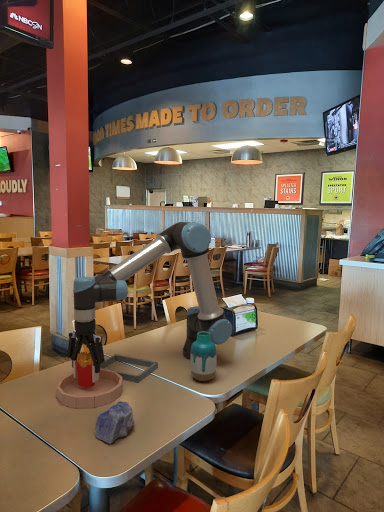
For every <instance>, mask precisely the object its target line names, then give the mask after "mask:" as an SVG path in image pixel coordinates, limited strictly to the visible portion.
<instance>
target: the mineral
mask: <svg viewBox="0 0 384 512" xmlns="http://www.w3.org/2000/svg"><path fill="white" fill-rule="evenodd" d="M95 419H96V420H95V425H94V431H95V433H94V436H95V437H96V438H97V440H98V439H99V440H101V441H103V442H105V443H107V444H109V445H111V444H113V442H114V441H115V440H117V439H118V438H122V437H126V436H127V435H128V432H129V430H130V429H132V427H133V425H135V422H136V421H135V419H134V413H133V407H132V406H131V405H130V402H127V401H122V400H121V401H120V400H119V401H117V402H116V404H113V405H111V406H110V407H108V408H107V409H106V410H105V411H103V412H101V413H99V414H97V416H96V418H95Z"/></svg>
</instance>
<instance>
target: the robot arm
mask: <svg viewBox="0 0 384 512" xmlns="http://www.w3.org/2000/svg"><path fill="white" fill-rule="evenodd" d="M211 243H212V235H211V232H210V230H209V229H208V227H207V226H206V225H204V224H202V223H199V222H196V221H191V222H190V221H189V222H188V221H179V222H176V223H174V224H172V225H170V226H169V227H167V228H165V229H164V230H163V231H161V232H160V233H158V234H157V235H156V238H155V239H153V240H152V241H150V242H149V243H148V244H146V245H144V246H143V247H141V248H140V249H138V250H137V251H135V252H134V253H132V254H130V255H129V256H127V257H126V258H124V259H123V260H122V261H120V262H119V263H117V264H116V265H114V266H113V267H111V268H109V269H108V270H106V271H105V272H103V273H101V274H100V273H99V274H96V275H94V276H79V277H76V278H74V280H73V290H72V292H73V319H74V322H73V323H74V331H71V332H68V345H67V358H68V359H70V360H71V367H72V369H73V373H74V378H76V377H77V367H76V360H77V354H78V353H81V349H82V348H83V346H84V345H85V346H86V348H87V349H88V351H89V352H90V354H91V357H92V360H93V362H94V364H93V365H92V382H96V381H97V380H99V372H100V364H102V363H103V362H105V360H106V359H105V355H104V347H103V336H102V335H99V336H98V335H97V334H96V331H95V330H96V329H97V327H96V325H97V323H96V319H95V318H96V303H103V302H113V301H118V302H119V301H121V300H122V301H123V300H126V299H127V297H128V294H129V293H128V292H129V291H128V289H129V287H128V284H127V282H126V281H127V280H128V279H129V278H131V277H133V276H134V275H136V274H137V273H139V272H140V271H142V270H143V269H145V268H146V267H147V266H149V265H150V264H153V262H155V261H157V260H158V259H159V258H161V257H163V256H164V255H165V254H171V253H173V252H174V251H177V250H180V253H181V256H182V259H184V260H185V261H186V262H187V266H188V270H189V273H190V278H191V283H192V286H193V290H194V294H195V297H196V300H197V301H196V302H197V305H196V306H191V307H188V308H187V309H186V338H185V342H184V344H183V348H182V356H183V357H184V358H187V359H189V360H190V356H191V346H192V344H193V343H194V342H195V341H196V340H197V333H198V332H202V331H205V332H209V333H210V334H211V341H212V342H213V343H214V344H215V345H216V346H218V345H222V344H225V343H226V342H227V341H228V340H230V337H231V336H232V333H233V325H232V323H231V321H230V320H228V319H227V318H226V315H225V314H226V313H225V310H224V308H222V307H220V306H219V301H218V297H217V293H216V289H215V283H214V280H213V276H212V272H211V269H210V267H211V266H210V263H209V260H208V259H209V258H208V255H209V253H210V244H211Z"/></svg>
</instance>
